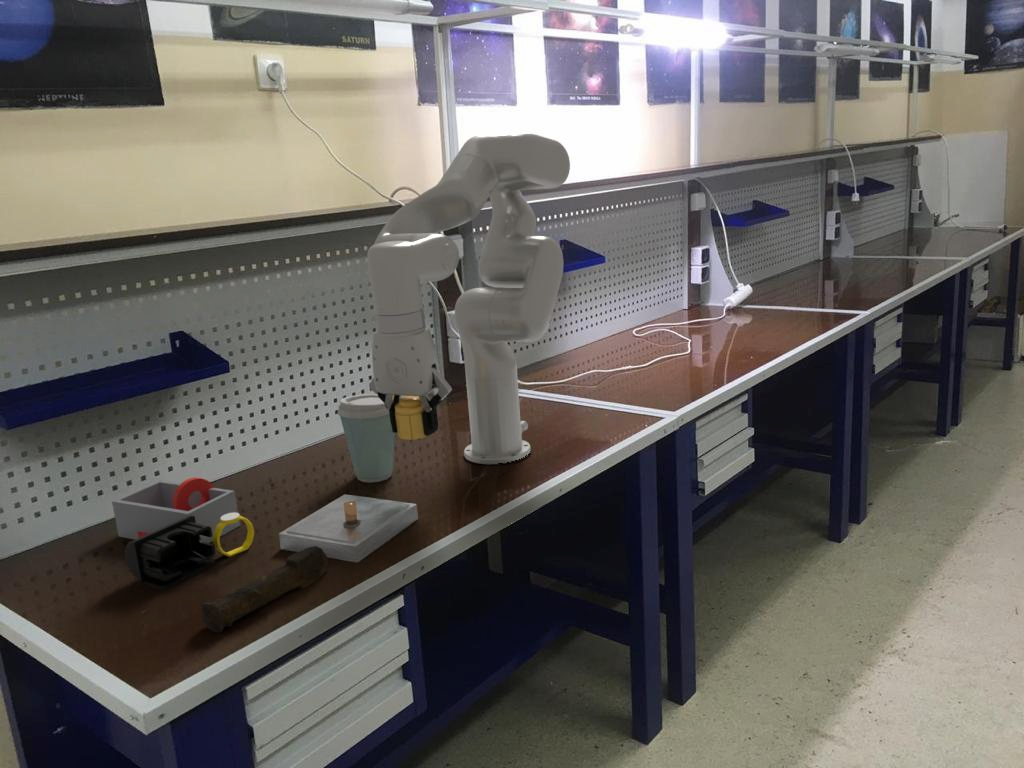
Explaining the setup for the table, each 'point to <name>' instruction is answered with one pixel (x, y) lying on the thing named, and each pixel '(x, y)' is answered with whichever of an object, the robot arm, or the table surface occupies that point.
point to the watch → (231, 519)
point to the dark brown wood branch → (266, 588)
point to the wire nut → (409, 418)
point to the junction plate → (350, 527)
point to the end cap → (170, 554)
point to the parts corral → (170, 509)
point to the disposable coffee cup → (368, 436)
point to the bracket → (186, 490)
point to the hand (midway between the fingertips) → (415, 430)
